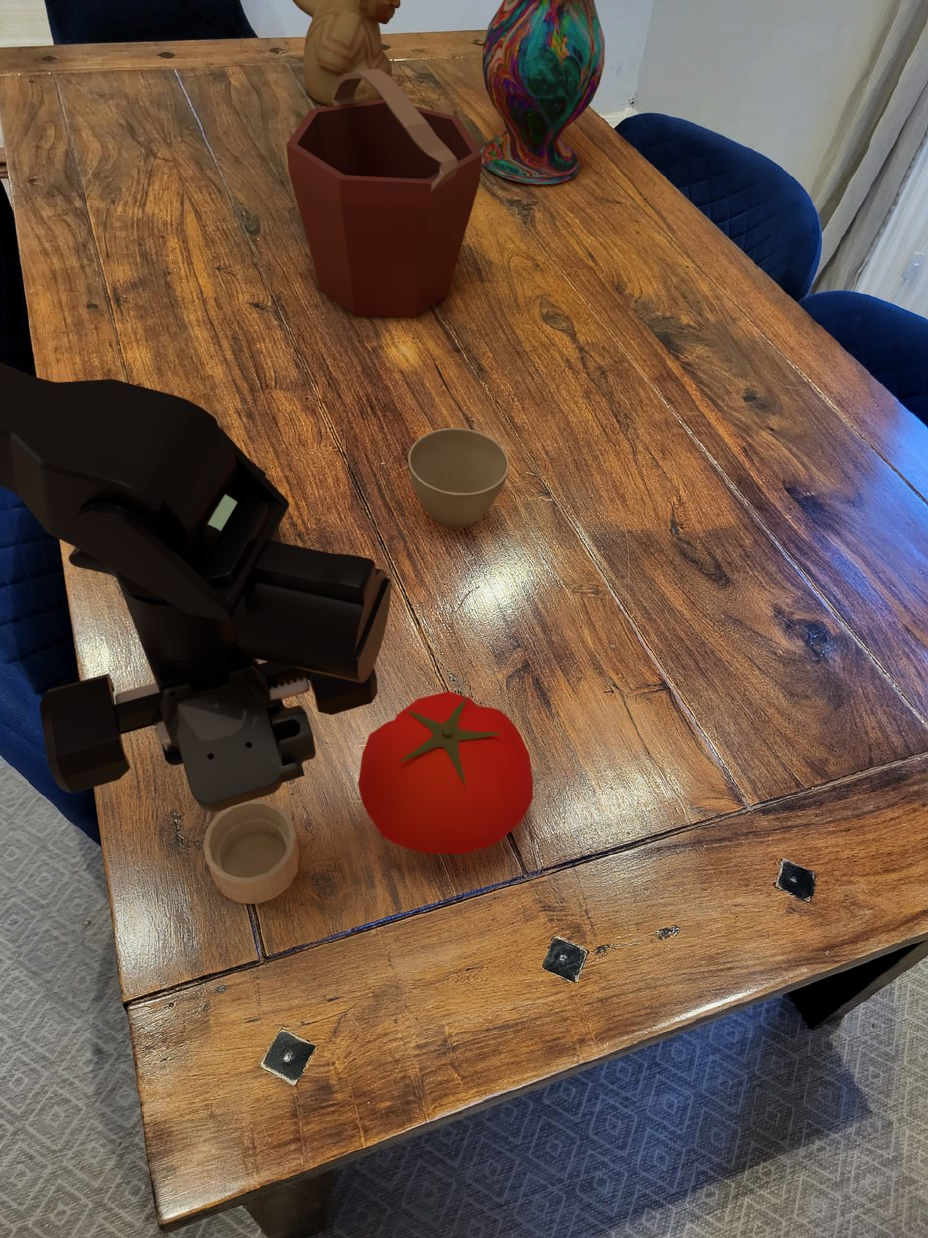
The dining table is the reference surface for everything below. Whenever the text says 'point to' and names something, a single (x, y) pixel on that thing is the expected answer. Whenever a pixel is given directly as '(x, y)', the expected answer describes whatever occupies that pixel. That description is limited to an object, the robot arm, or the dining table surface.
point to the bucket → (383, 197)
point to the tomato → (446, 776)
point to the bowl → (252, 851)
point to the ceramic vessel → (344, 44)
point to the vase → (540, 84)
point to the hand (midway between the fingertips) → (234, 764)
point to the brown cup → (457, 474)
